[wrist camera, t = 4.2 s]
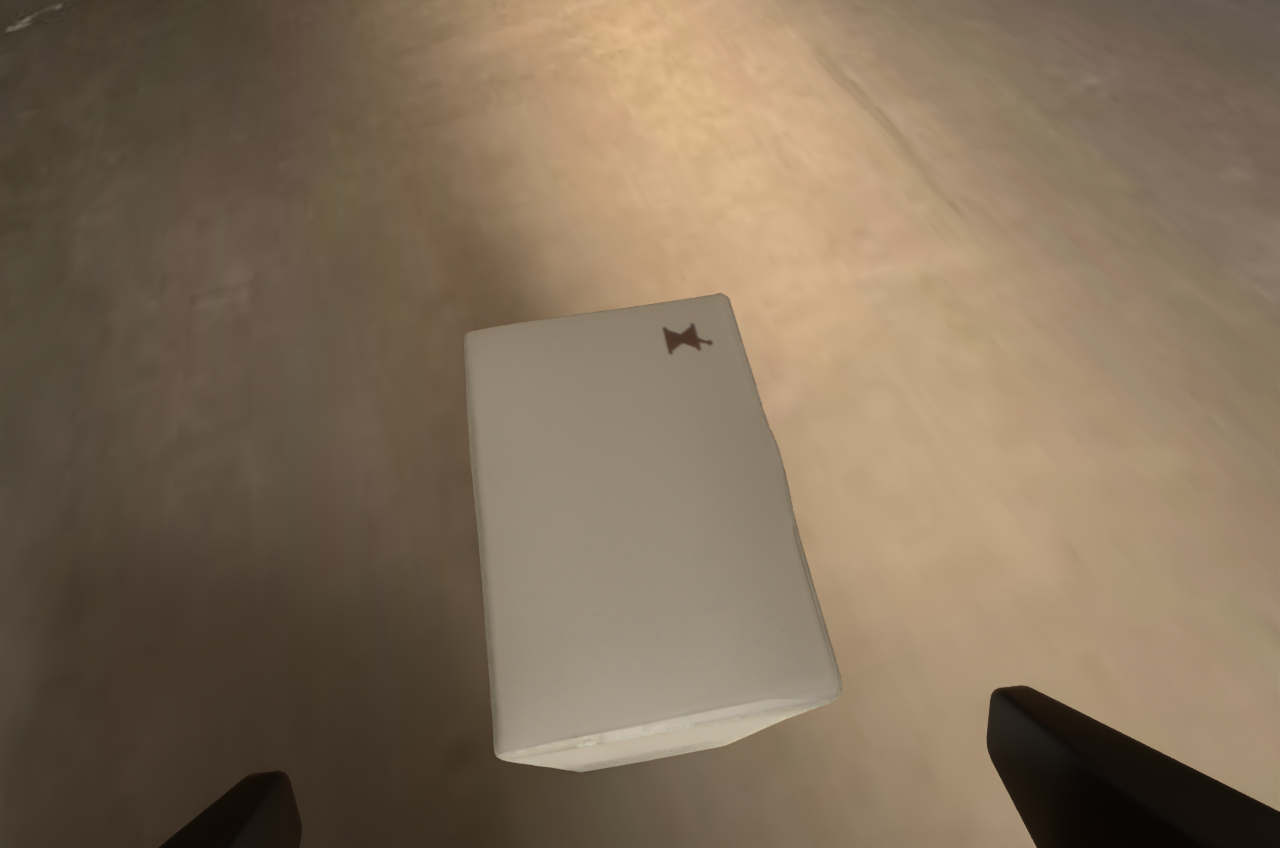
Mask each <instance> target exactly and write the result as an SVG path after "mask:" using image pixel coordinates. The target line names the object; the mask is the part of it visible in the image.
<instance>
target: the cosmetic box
mask: <svg viewBox="0 0 1280 848" xmlns="http://www.w3.org/2000/svg"><path fill="white" fill-rule="evenodd" d="M464 355H465V374H466V398H467V421H468V436H469V451H470V465H471V474H472V483H473V492H474V502H475V512H476V522H477V532H478V542H479V554H480V568H481V581H482V595H483V608H484V621H485V633H486V646H487V659H488V672H489V684H490V697H491V709H492V722H493V741H494V753H495V755H496V757H498V758H500V759H501V760H504V761H509V762H515V763H522V764H530V765H536V766H542V767H551V768H557V769H562V770H569V771H575V772H586V771H592V770H598V769H603V768H609V767H615V766H621V765H627V764H632V763H638V762H644V761H649V760H654V759H659V758H665V757H670V756H675V755H680V754H686V753H691V752H696V751H701V750H707V749H712V748H717V747H722V746H726V745H728V744H730V743H732V742H735V741H737V740H739V739H742V738H744V737H746V736H749V735H751V734H753V733H755V732H757V731H760V730H762V729H764V728H767V727H769V726H771V725H773V724H775V723H778V722H780V721H783V720H785V719H788V718H790V717H793V716H795V715H798V714H801V713H804V712H806V711H809V710H812V709H815V708H818V707H821V706H824V705H827V704H830V703H832V702H835V701H836V700H837V699H838V697H839V696H840V693H841V690H842V688H841V675H840V672H839V668H838V665H837V662H836V658H835V655H834V651H833V648H832V645H831V641H830V638H829V634H828V631H827V628H826V624H825V621H824V618H823V614H822V611H821V608H820V604H819V601H818V598H817V594H816V591H815V588H814V584H813V580H812V577H811V573H810V569H809V566H808V563H807V560H806V556H805V553H804V549H803V546H802V542H801V539H800V536H799V532H798V528H797V524H796V520H795V516H794V512H793V507H792V502H791V496H790V491H789V485H788V481H787V477H786V473H785V469H784V466H783V462H782V459H781V455H780V452H779V449H778V445H777V442H776V440H775V438H774V435H773V433H772V431H771V429H770V427H769V424H768V421H767V418H766V415H765V413H764V410H763V407H762V403H761V400H760V397H759V393H758V390H757V386H756V383H755V380H754V377H753V373H752V370H751V367H750V364H749V361H748V358H747V355H746V351H745V348H744V345H743V342H742V338H741V335H740V332H739V329H738V325H737V322H736V319H735V315H734V312H733V309H732V306H731V303H730V299H729V298H728V297H727V296H726V295H724V294H721V293H719V294H714V295H708V296H702V297H696V298H689V299H683V300H676V301H670V302H663V303H656V304H650V305H643V306H636V307H629V308H622V309H615V310H607V311H599V312H592V313H584V314H577V315H570V316H563V317H556V318H548V319H541V320H534V321H527V322H521V323H515V324H508V325H503V326H497V327H491V328H485V329H480V330H476V331H471V332H468V333H467V334H466V335H465V337H464Z"/></svg>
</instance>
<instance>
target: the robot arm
mask: <svg viewBox="0 0 1280 848" xmlns="http://www.w3.org/2000/svg"><path fill="white" fill-rule="evenodd" d="M987 748H988V752H989V755H990V758H991V760H992V762H993V764H994V766H995V768H996V770H997V772H998V774H999V776H1000V778H1001V780H1002V782H1003V784H1004V785H1005V787H1006V789H1007V791H1008V793H1009V795H1010V797H1011V799H1012V801H1013V803H1014V805H1015V807H1016V809H1017V811H1018V812H1019V814H1020V816H1021V818H1022V820H1023V822H1024V824H1025V826H1026V828H1027V830H1028V832H1029V834H1030V836H1031V838H1032V839H1033V841H1034V843H1035V845H1036V847H1037V848H1280V812H1279V811H1277V810H1275V809H1273V808H1271V807H1269V806H1267V805H1265V804H1263V803H1261V802H1259V801H1257V800H1255V799H1253V798H1251V797H1249V796H1247V795H1245V794H1243V793H1241V792H1239V791H1237V790H1235V789H1233V788H1231V787H1229V786H1227V785H1225V784H1223V783H1221V782H1219V781H1217V780H1215V779H1213V778H1211V777H1209V776H1207V775H1205V774H1203V773H1201V772H1199V771H1197V770H1195V769H1193V768H1191V767H1189V766H1187V765H1185V764H1183V763H1181V762H1179V761H1177V760H1175V759H1173V758H1171V757H1169V756H1167V755H1165V754H1163V753H1161V752H1159V751H1157V750H1155V749H1153V748H1151V747H1149V746H1147V745H1145V744H1143V743H1141V742H1139V741H1137V740H1135V739H1133V738H1131V737H1129V736H1127V735H1125V734H1123V733H1121V732H1119V731H1117V730H1115V729H1113V728H1111V727H1109V726H1107V725H1105V724H1103V723H1101V722H1099V721H1097V720H1095V719H1093V718H1091V717H1089V716H1087V715H1085V714H1083V713H1081V712H1079V711H1077V710H1075V709H1073V708H1071V707H1069V706H1067V705H1065V704H1063V703H1061V702H1059V701H1057V700H1055V699H1053V698H1051V697H1049V696H1047V695H1045V694H1043V693H1041V692H1039V691H1037V690H1035V689H1033V688H1030V687H1028V686H1011V687H1003V688H998V689H996V690H994V691H993V693H992V695H991V699H990V708H989V718H988V728H987ZM301 830H302V828H301V820H300V816H299V812H298V808H297V805H296V801H295V797H294V793H293V790H292V786H291V782H290V779H289V777H288V775H287V774H286V773H285V772H283V771H271V772H262V773H254V774H251V775H248V776H247V777H245V778H244V779H242V780H241V781H240V782H239V783H237V784H236V785H235V786H234V787H233V788H231V789H230V790H229V791H228V792H226V793H225V794H224V795H223V796H221V797H220V798H219V799H218V800H217V801H215V802H214V803H213V804H212V805H210V806H209V807H208V808H207V809H205V810H204V811H203V812H202V813H201V814H199V815H198V816H197V817H196V818H194V819H193V820H192V821H191V822H189V823H188V824H187V825H186V826H185V827H183V828H182V829H181V830H180V831H178V832H177V833H176V834H175V835H173V836H172V837H171V838H170V839H169V840H167V841H166V842H165V843H164V844H162V845H161V846H160V847H159V848H299V845H300V840H301Z"/></svg>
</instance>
